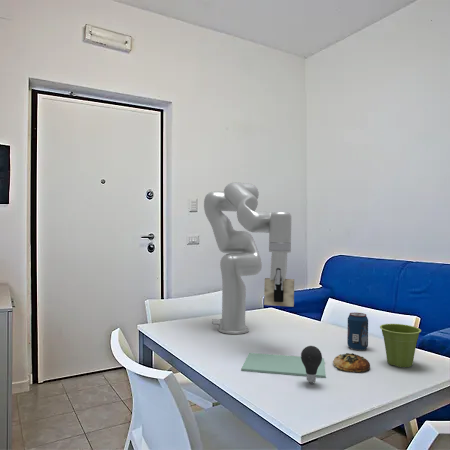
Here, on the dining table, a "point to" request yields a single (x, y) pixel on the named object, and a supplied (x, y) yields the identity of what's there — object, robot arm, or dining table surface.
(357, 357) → the bread roll
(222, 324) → the robot arm
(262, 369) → the rubber mat
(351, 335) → the soda can
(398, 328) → the plant pot
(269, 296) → the tan wooden block
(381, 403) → the dining table surface
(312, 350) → the light bulb
